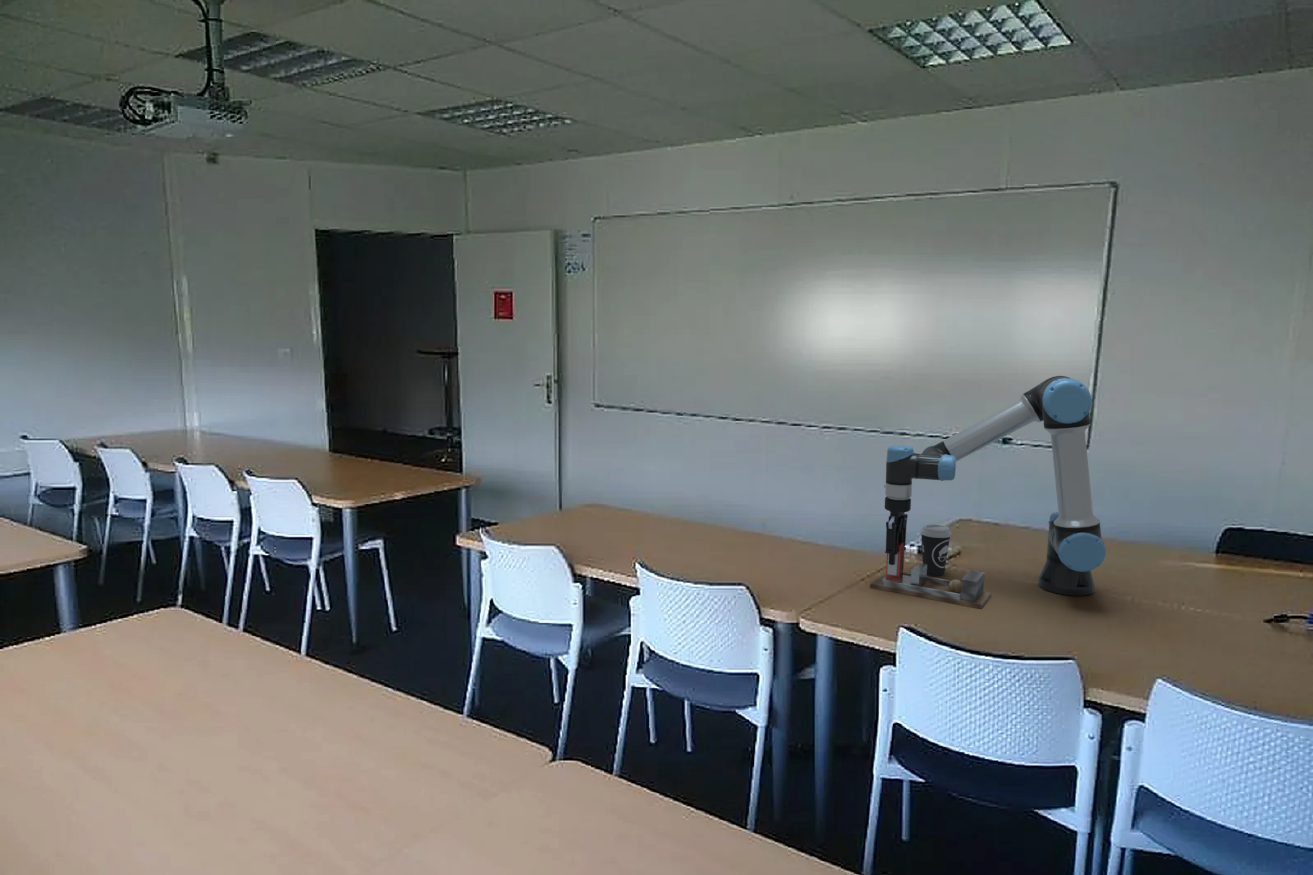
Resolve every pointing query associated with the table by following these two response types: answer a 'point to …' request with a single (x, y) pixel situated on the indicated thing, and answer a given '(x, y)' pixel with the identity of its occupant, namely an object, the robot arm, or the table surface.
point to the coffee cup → (935, 548)
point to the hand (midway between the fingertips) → (894, 572)
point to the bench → (941, 589)
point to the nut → (955, 586)
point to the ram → (917, 572)
